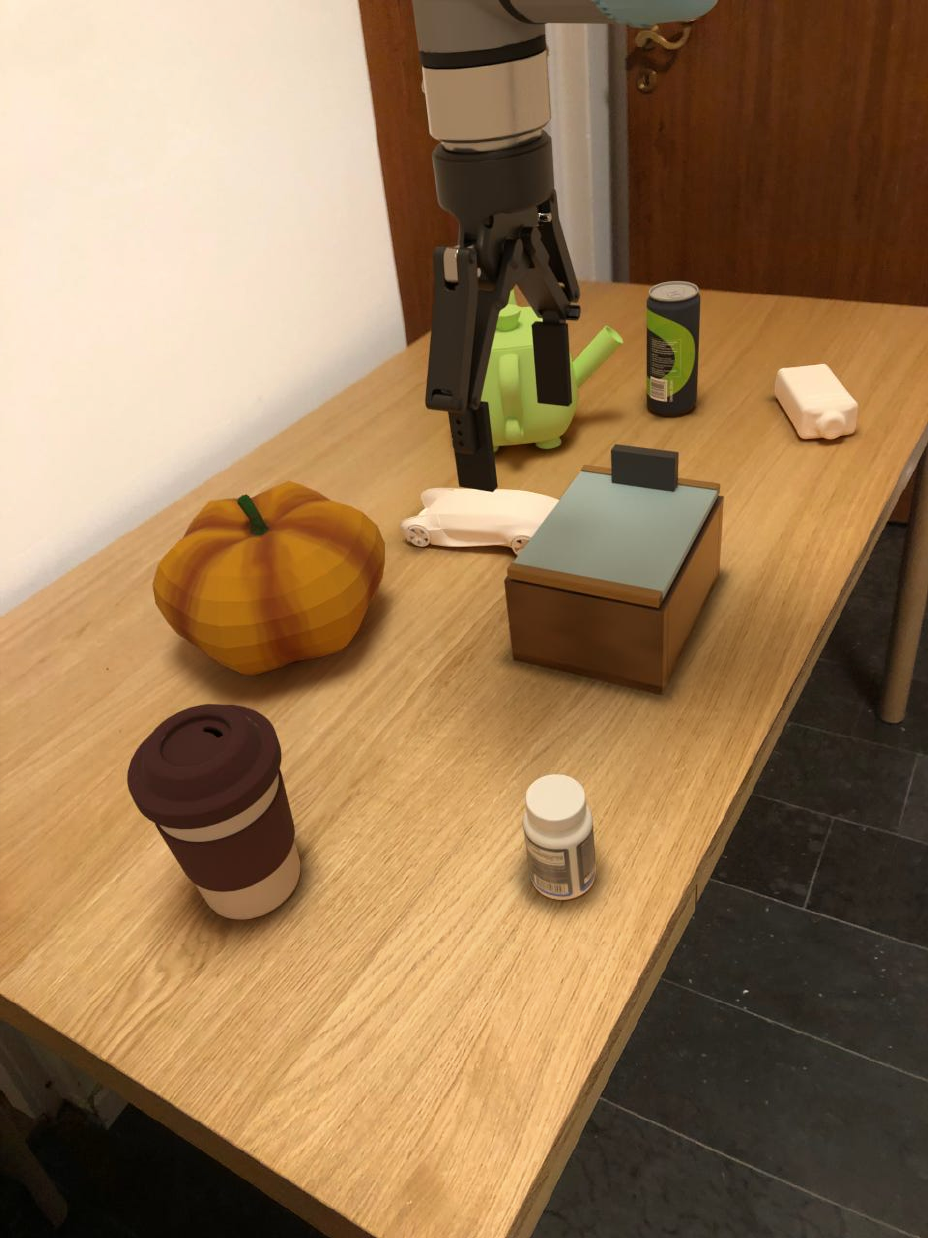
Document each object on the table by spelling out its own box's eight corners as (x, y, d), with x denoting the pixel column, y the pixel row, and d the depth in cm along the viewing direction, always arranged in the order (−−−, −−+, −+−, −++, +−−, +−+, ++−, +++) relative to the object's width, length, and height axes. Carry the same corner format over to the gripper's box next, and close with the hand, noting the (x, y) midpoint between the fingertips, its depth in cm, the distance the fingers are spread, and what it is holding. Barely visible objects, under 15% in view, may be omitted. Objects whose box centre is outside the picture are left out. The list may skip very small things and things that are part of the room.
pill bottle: (575, 837, 71) (569, 759, 66) (608, 884, 67) (605, 806, 62) (517, 863, 70) (507, 785, 64) (548, 912, 66) (540, 834, 61)
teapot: (634, 463, 112) (633, 332, 102) (451, 480, 114) (433, 353, 104) (612, 372, 131) (610, 255, 122) (456, 388, 133) (441, 274, 123)
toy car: (399, 545, 104) (392, 510, 101) (426, 507, 110) (420, 472, 107) (559, 563, 98) (556, 526, 95) (579, 522, 104) (577, 485, 101)
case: (719, 575, 93) (724, 495, 88) (662, 695, 81) (663, 612, 76) (584, 551, 99) (580, 475, 94) (512, 659, 87) (503, 580, 82)
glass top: (719, 492, 88) (722, 450, 85) (658, 608, 76) (659, 564, 73) (584, 473, 93) (582, 433, 91) (507, 578, 81) (502, 536, 79)
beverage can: (703, 413, 119) (708, 294, 110) (654, 421, 119) (655, 303, 110) (687, 392, 124) (690, 276, 115) (640, 400, 124) (640, 285, 115)
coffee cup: (202, 962, 66) (129, 821, 57) (175, 859, 74) (108, 720, 64) (336, 903, 69) (288, 758, 59) (298, 809, 76) (250, 668, 67)
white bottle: (802, 448, 110) (806, 415, 107) (773, 398, 120) (776, 367, 117) (860, 442, 110) (865, 408, 107) (826, 393, 120) (830, 361, 117)
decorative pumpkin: (145, 697, 89) (87, 566, 80) (240, 560, 106) (201, 438, 96) (349, 714, 84) (312, 576, 75) (415, 567, 100) (392, 439, 91)
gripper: (520, 92, 69) (540, 369, 82) (329, 193, 53) (392, 520, 66) (618, 88, 66) (624, 377, 79) (448, 195, 50) (490, 538, 62)
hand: (519, 442), depth 72 cm, fingers open, 13 cm apart
